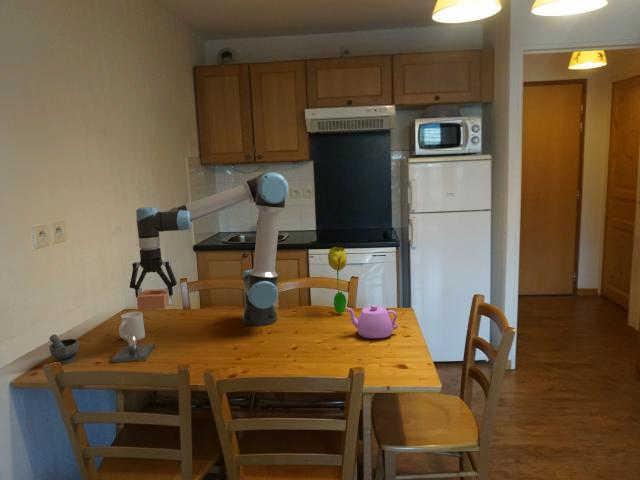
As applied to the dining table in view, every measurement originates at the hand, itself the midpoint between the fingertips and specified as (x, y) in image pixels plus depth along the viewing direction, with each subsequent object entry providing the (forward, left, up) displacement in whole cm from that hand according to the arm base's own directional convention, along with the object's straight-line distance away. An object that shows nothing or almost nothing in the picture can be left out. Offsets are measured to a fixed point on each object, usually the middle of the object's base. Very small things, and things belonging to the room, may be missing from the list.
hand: (155, 304), depth 186 cm
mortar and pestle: (+32, +10, -17) cm, 37 cm away
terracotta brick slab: (0, 0, 0) cm, 0 cm away
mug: (+14, -9, -17) cm, 24 cm away
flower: (-73, -22, -17) cm, 78 cm away
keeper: (+7, +8, -17) cm, 20 cm away
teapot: (-83, +5, -17) cm, 85 cm away
